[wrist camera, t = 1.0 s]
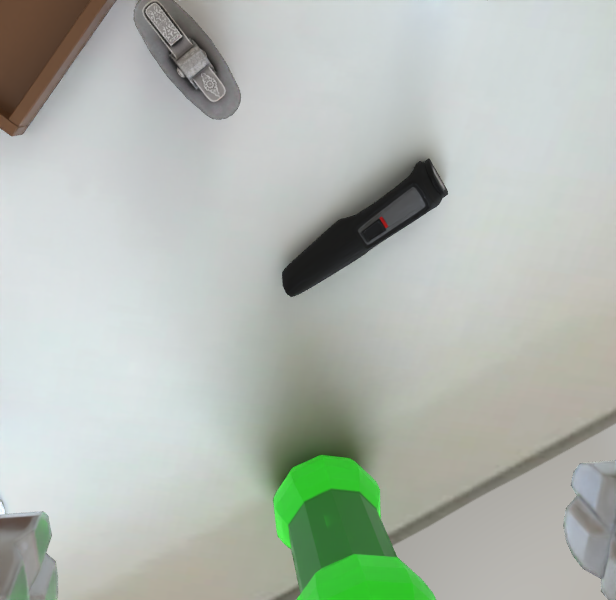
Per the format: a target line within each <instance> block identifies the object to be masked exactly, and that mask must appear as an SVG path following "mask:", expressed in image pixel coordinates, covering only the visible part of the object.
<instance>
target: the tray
mask: <svg viewBox="0 0 616 600" xmlns="http://www.w3.org/2000/svg"><path fill="white" fill-rule="evenodd" d="M115 1H116V0H0V128H1V129H2V130H3V131H5V132H6V133H8V134H9V135H10V136H16V135H22V134H23V133H24V132H25V130H26V129H27V127H28V126H29V124H30V123H31V122H32V120H33V119H34V117H35V116H36V114H37V113H38V112H39V110H40V109H41V107H42V106H43V104H44V103H45V102H46V100H47V99H48V97H49V96H50V94H51V93H52V92H53V90H54V89H55V87H56V86H57V84H58V83H59V82H60V80H61V79H62V77H63V76H64V74H65V73H66V71H67V70H68V69H69V67H70V66H71V64H72V63H73V61H74V60H75V59H76V57H77V56H78V54H79V53H80V51H81V50H82V49H83V47H84V46H85V44H86V43H87V41H88V40H89V39H90V37H91V36H92V34H93V33H94V31H95V30H96V29H97V27H98V26H99V24H100V23H101V21H102V20H103V19H104V17H105V16H106V14H107V13H108V11H109V10H110V9H111V7H112V6H113V4H114V3H115Z"/></svg>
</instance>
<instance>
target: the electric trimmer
mask: <svg viewBox="0 0 616 600" xmlns="http://www.w3.org/2000/svg"><path fill="white" fill-rule="evenodd" d="M446 195H448V191H447V189H446V187H445V185H444V183H443V182H442V180H441V178H440V176H439V175H438V173H437V171H436V169H435V167H434V166H433V164H432V162H431V160H430V159H427V160H426V161H425V163H424V162H421V161H419V162H418V163H417V164H416V165H415V167H414V169H413V171H412V173H411V175H410V176H409V177H408V178H406V179H405V180H404V181H403V182H401V183H400V184H399V185H398V186H396V187H395V188H394V189H393V190H391V191H390V192H389V193H387V194H386V195H385V196H383V197H382V198H381V199H379V200H378V201H376V202H375V203H374V204H372V205H371V206H369V207H367V208H366V209H364V210H363V211H361V212H359V213H358V214H356V215H354V216H351V217H347V218H343V219H340V220H338V221H337V222H336V223H335V224H334V225H332V226H331V227H330V228H329V229H328V230H327V231H326V232H324V233H323V234H322V235H321V236H320V237H319V238H318V239H317V240H316V241H314V242H313V243H312V244H311V245H310V246H309V247H308V248H307V249H306V250H304V251H303V252H302V253H301V254H300V255H299V256H298V257H297V258H296V259H294V260H293V261H292V262H291V263H290V264H289V265H288V266H287V267H286V268H285V269H284V271H283V272H282V281H283V287H284V290H285V292H286V293H287V295H289V296H290V297H293V296H296V295H299V294H301V293H302V292H304V291H306V290H308V289H309V288H311V287H313V286H315V285H316V284H318V283H320V282H321V281H323V280H324V279H326V278H328V277H329V276H331V275H333V274H334V273H336V272H337V271H339V270H341V269H342V268H344V267H345V266H347V265H349V264H350V263H352V262H353V261H355V260H357V259H358V258H360V257H361V256H363V255H364V254H366V253H367V252H368V251H369V250H371V249H372V248H373V247H375V246H376V245H378V244H379V243H381V242H382V241H384V240H385V239H387V238H388V237H390V236H392V235H393V234H395V233H396V232H398V231H399V230H401V229H403V228H404V227H406V226H407V225H409V224H411V223H412V222H414V221H415V220H417V219H418V218H420V217H421V216H423V215H424V214H426V213H427V212H428V211H430V210H431V209H433V208H435V207H437V206H438V205H439V203H440V202H441V200H442V198H443V197H445V196H446Z"/></svg>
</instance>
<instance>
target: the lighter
mask: <svg viewBox="0 0 616 600" xmlns="http://www.w3.org/2000/svg"><path fill="white" fill-rule="evenodd" d="M134 22H135V25H136V27H137V29H138V31H139V33H140V34H141V36H142V38H143V40H144V42H145V43H146V45H147V47H148V49H149V51H150V52H151V54H152V55H153V57H154V58H155V60H156V61H157V63H158V64H159V65H160V67H161V68H162V70H163V71H164V73H165V74H166V75H167V77H168V78H169V79H170V80H171V81H172V82H173V83H174V84H175V86H176V87H177V88H178V89H179V90H180V91H181V92H182V93H183V94H184V95H185V97H186V98H187V99H189V100H190V101H191V102H192V103H193V104H194V105H195V106H197V107H198V108H199V109H200V110H201V111H202V112H203V113H205V114H206V115H207V116H209V117H210V118H212V119H218V120H221V119H225V118H228V117H229V116H231V115H233V114H234V112H235V111H236V110H237V109H238V107H239V104H240V101H241V93H240V90H239V87H238V85H237V83H236V81H235V79H234V77H233V75H232V73H231V71H230V69H229V67H228V66H227V64H226V62H225V61H224V59H223V58H222V56H221V55H220V53H219V51H218V50H217V48H216V47H215V45H214V44H213V42H212V41H211V39H210V38H209V37H208V36H207V35H206V34H205V32H204V31H203V30H202V29H201V28H200V27H199V25H198V24H197V23H196V22H195V21H194V20H193V18H192V17H191V16H190V15H189V14H188V13H186V12H185V11H184V10H183V9H182V8H181V7H180V6H179V5H178V4H177V3H176V2H175V1H174V0H139V2H138V3H137V4H136V7H135V10H134Z"/></svg>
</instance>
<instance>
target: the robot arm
mask: <svg viewBox="0 0 616 600" xmlns="http://www.w3.org/2000/svg"><path fill="white" fill-rule="evenodd" d="M571 486H572V488H573V490H574V491H575V493H576V495H577V496H576V497H575V498H574V500H573V501H572V502H571V503H570V504H569V505H568V506H567V508H566V512H565V518H564V524H563V526H564V531H565V537H566V541H567V544H568V547H569V549H570V551H571V553H572V555H573V556H574V558H575V559H576V560H577V562H578V563H579V564H580V566H581V567H582V568H583V569H584V570H586V571H588V572H590V573H592V574H593V575H595V576H597V577H599V578H600V579H601V592H602V593H603V594H604V595H605V597H606V598H607V599H608V600H616V460H612V461H601V462H591V463H580V464H579V465H578V467H577V468H576V469H575V471H574V473H573V477H572V482H571ZM51 536H52V534H51V529H50V524H49V518H48V515H47V514H46V513H45V512H43V511H42V512H28V513H13V514H5V509H4V506H3V504H2V502H1V500H0V600H57V596H58V575H57V568H56V561H55V560H54V559H52V558H51V557H50V556H49V555H48V554H47V553H46V551H47V548H48V545H49V542H50V539H51Z"/></svg>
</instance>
